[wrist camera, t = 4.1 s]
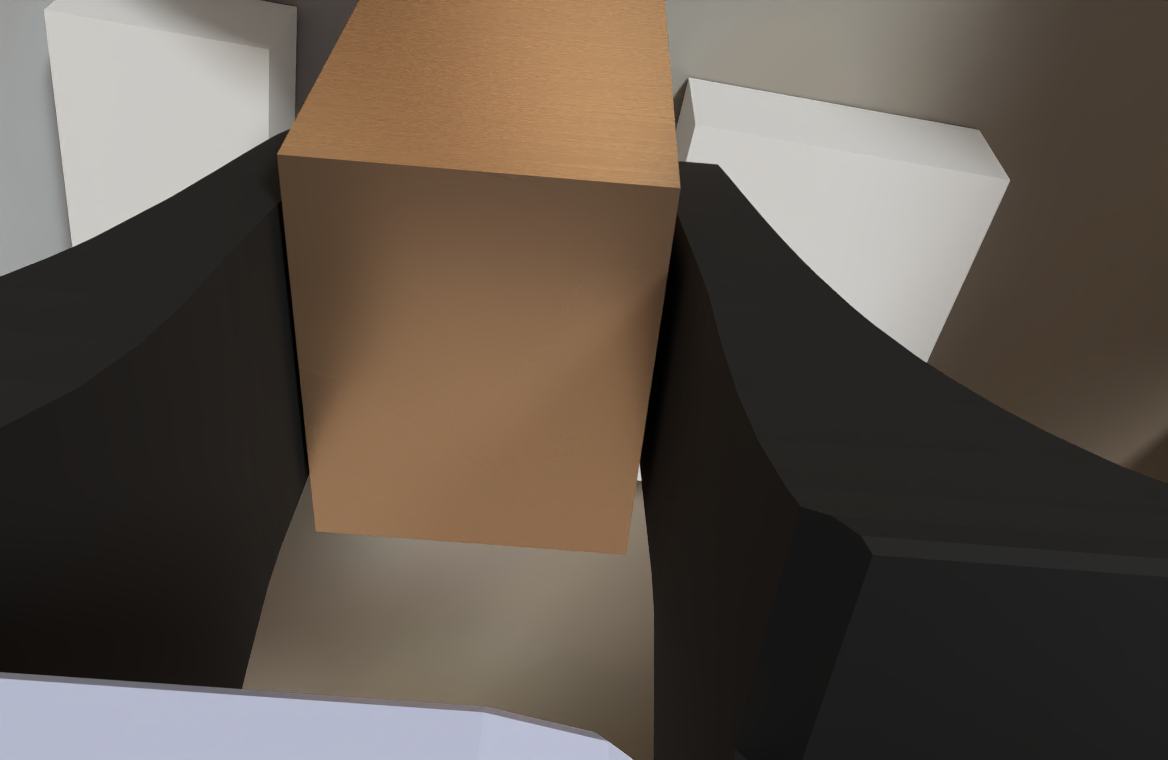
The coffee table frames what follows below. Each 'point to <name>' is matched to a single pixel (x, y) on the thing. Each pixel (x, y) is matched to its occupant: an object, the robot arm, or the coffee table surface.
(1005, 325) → the coffee table surface
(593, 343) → the block
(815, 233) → the board
